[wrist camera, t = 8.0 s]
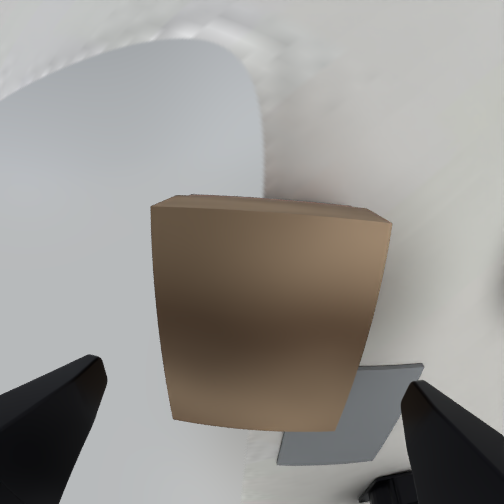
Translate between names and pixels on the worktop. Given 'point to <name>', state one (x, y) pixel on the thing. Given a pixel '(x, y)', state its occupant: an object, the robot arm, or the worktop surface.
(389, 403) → the mat
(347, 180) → the worktop surface
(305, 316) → the lid
